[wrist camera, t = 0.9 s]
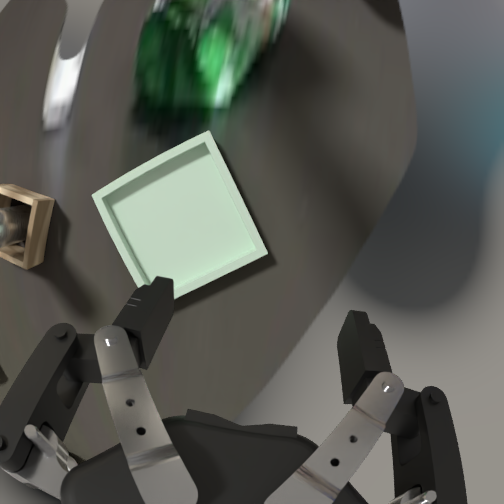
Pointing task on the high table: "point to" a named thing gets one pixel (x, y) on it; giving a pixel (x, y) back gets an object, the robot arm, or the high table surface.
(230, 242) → the tray
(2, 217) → the canister
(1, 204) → the holder
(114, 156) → the high table surface
